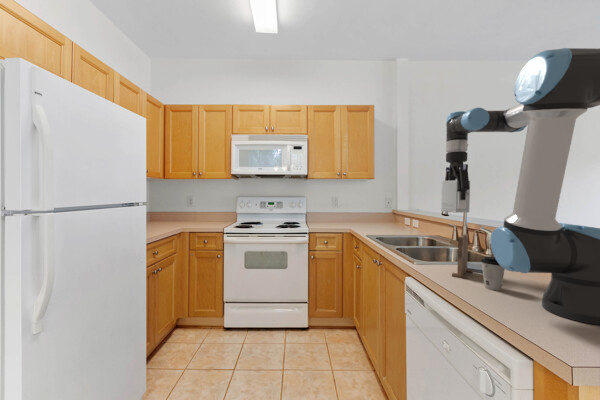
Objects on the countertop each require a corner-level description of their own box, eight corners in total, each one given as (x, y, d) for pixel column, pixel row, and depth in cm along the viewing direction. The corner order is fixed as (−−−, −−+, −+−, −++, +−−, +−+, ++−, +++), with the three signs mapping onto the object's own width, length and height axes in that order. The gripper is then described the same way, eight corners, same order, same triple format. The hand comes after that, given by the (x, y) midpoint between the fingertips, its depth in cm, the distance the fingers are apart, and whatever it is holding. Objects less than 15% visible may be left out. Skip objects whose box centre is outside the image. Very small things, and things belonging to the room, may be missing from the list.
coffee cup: (485, 290, 93) (485, 259, 93) (477, 284, 100) (477, 255, 100) (509, 292, 92) (510, 261, 91) (499, 285, 98) (500, 256, 98)
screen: (466, 279, 106) (467, 238, 105) (451, 276, 109) (452, 236, 109) (472, 272, 115) (473, 234, 115) (458, 270, 118) (459, 233, 118)
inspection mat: (492, 274, 112) (492, 271, 112) (463, 270, 118) (463, 267, 118) (495, 269, 119) (495, 266, 119) (467, 265, 126) (467, 262, 126)
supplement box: (456, 212, 112) (456, 180, 111) (440, 211, 119) (441, 180, 118) (470, 212, 114) (470, 180, 114) (454, 211, 121) (454, 181, 121)
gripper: (481, 147, 105) (480, 209, 105) (453, 155, 127) (452, 207, 127) (459, 147, 105) (458, 209, 106) (436, 155, 127) (435, 206, 128)
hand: (455, 208), depth 116 cm, fingers closed on supplement box, 9 cm apart
